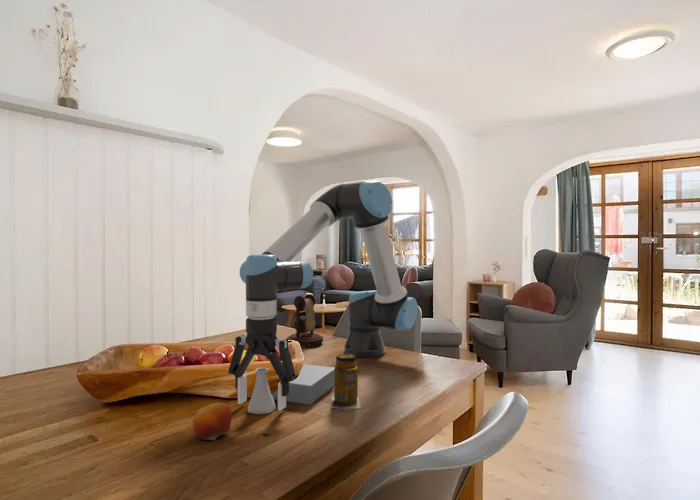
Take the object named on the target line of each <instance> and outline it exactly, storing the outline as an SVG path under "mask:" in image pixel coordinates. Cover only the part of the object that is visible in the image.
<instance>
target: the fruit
mask: <svg viewBox="0 0 700 500" xmlns="http://www.w3.org/2000/svg"><path fill="white" fill-rule="evenodd" d="M232 412H233V411H232V409H231V407H230V406H229V405H228V404H226V403H225V402H219V401H218V402H213V403H210V404H207V405H205V406H203V407H202V408H200V409H199V410H198V411H197V412H196V414H195V415H193V418H192V429H193V430H192V431H193V432H194V433H195V435H196V436H197V437H198V438H199V439H200V440H204V441H205V440H207V441H209V440H210V441H214V442H215V441H216V439H217V438H218V437H220V436H221V435H228V436H229V437H230V436H231V434H230V433H229V430H230V428H231V423H232V415H233V413H232Z"/></svg>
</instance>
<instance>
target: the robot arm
mask: <svg viewBox="0 0 700 500" xmlns="http://www.w3.org/2000/svg"><path fill="white" fill-rule="evenodd" d="M392 205H393V198H392V194H391V192H390V189H389V188H388V187H387V186H386V184H384V183H382V182H381V181H379V180H364V181H357V182H349V183H340V184H338V185H335V186H333V187H331V188H330V189H328V190H327V191H326V192H324V193H322V194H321V195H320V196H319V197H317V198H316V199H315V200H314V201H313V202H312V203H311V204H310V206H309V210H308V211H307V212H305V214H304V215H303V216H301V217H300V218H299V219H298V220H297V221H296V222H294V224H292V226H291V227H289V228H288V229H287V230H286V231H285V232H284V233H283V234H282V235H280V236H279V238H278V239H276V240H275V241H274V242H272V244H271V245H270V246H269V247H268V248H266V249H265V250H264V251H263V252H262V253H261V254H249V255H247V257H246V260H245V261H244V262H243V263H242V264H241V265H240V268H239V278H240V279H241V281H242V282H243V283H244V284H245V316H246V317H247V318H246V319H245V332H246V335H243V334H240V335H239V336H237V337H236V336H235V341H234V342H235V347H234V349H233V354H232V356H231V360H230V364H229V367H228V369H227V370H228V372H227V373H228V374H229V375H233V376H234V378H235V386H234V387H235V390H237V404H238V405H241V404H244V403H245V402H247V399H248V397H247V395H248V394H247V392H248V390H247V389H248V388H247V386H248V384H247V382H248V381H247V378H248V377H247V375H246V373H245V372H246V370H247V368H248V367H249V365H250V363H251V362H252V360H253V358H254V357H255V356H258V355H259V356H264V357H265V358H266V359H268V360H269V362H270V363H271V366H272V368H273V370H274V372H275V374H276V375H277V376H278V377H279V379H280V381H281V382H279V383H278V400H277V411H283V410H284V409H286V407H287V401H286V396H287V395H288V394H289V382H291V381H292V380H294V379H295V378H296V373H295V370H294V364H293V363H294V362H293V360H292V357H291V352H290V350H289V345H288V340H287V338H285V339H278V337H277V331H278V319H277V317H276V316H277V314H278V304H277V303H278V292H280V291H290V290H301V289H305V288H307V287H309V286H310V285H311V284H312V282H313V280H314V270H313V267H312V265H311V264H310V263H309V262H307V261H306V260H305V261H304V260H298V259H297V260H294V259H295V258H296V257H297V256H298V255H299V254H300V253H301V252H302V251H303V250H304V249H305V248H306V247H307V246H308V245H310V243H311V242H312V241H313V240H314V239H315V238H316V237H317V236H318V235H319V234H320V233H321V232H322V231H323V230H324V229H325V228H327V227H329V228H330V227H331V226H333V225H334V224H335V223H336V222H338V221H340V220H345V219H346V220H348V219H349V220H351V219H352V222H353V226H354V228H355V229H357V230H359V231H360V234H361V238H362V242H363V245H364V248H365V249H364V250H365V252H366V253H365V254H366V256H367V259H368V264H369V266H370V270H371V271H370V272H371V274H372V278H373V281H374V285H375V288H376V289H375V290H373V289H372V290H362V291H356V292H352V293H350V295H349V298H348V299H349V300H348V334H347V337H346V341H345V344H344V349H343V350H344V354H353V355H355V356H356V358H373V357H379V356H383V355H384V354H385V352H386V351H385V348H386V347H385V344H384V343H385V342H384V340H383V338H382V334H381V328H383V329H392V330H396V331H408V330H410V329H411V328H412V327H413V326H414V324H415V323H416V319H417V316H418V311H419V304H418V302H417V299H416V298H414V297H411V296H410V297H409V293H408V290H407V288H406V287H404V286H403V285H402V284H401V280H400V276H399V272H398V269H397V264H396V260H395V256H394V252H393V249H392V244H391V241H390V237H389V232H388V229H387V225H386V223H387V222H388V220H389V218H390V217H389V215H390V214H391V212H392V209H393V206H392ZM246 344H247V346H248V348H247V350H246V351H245V346H246ZM276 346H277V348H276ZM244 351H245V353H244ZM244 354H245V355H244ZM243 355H244V356H243ZM242 356H243V357H242ZM279 356H280V357H279Z"/></svg>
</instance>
